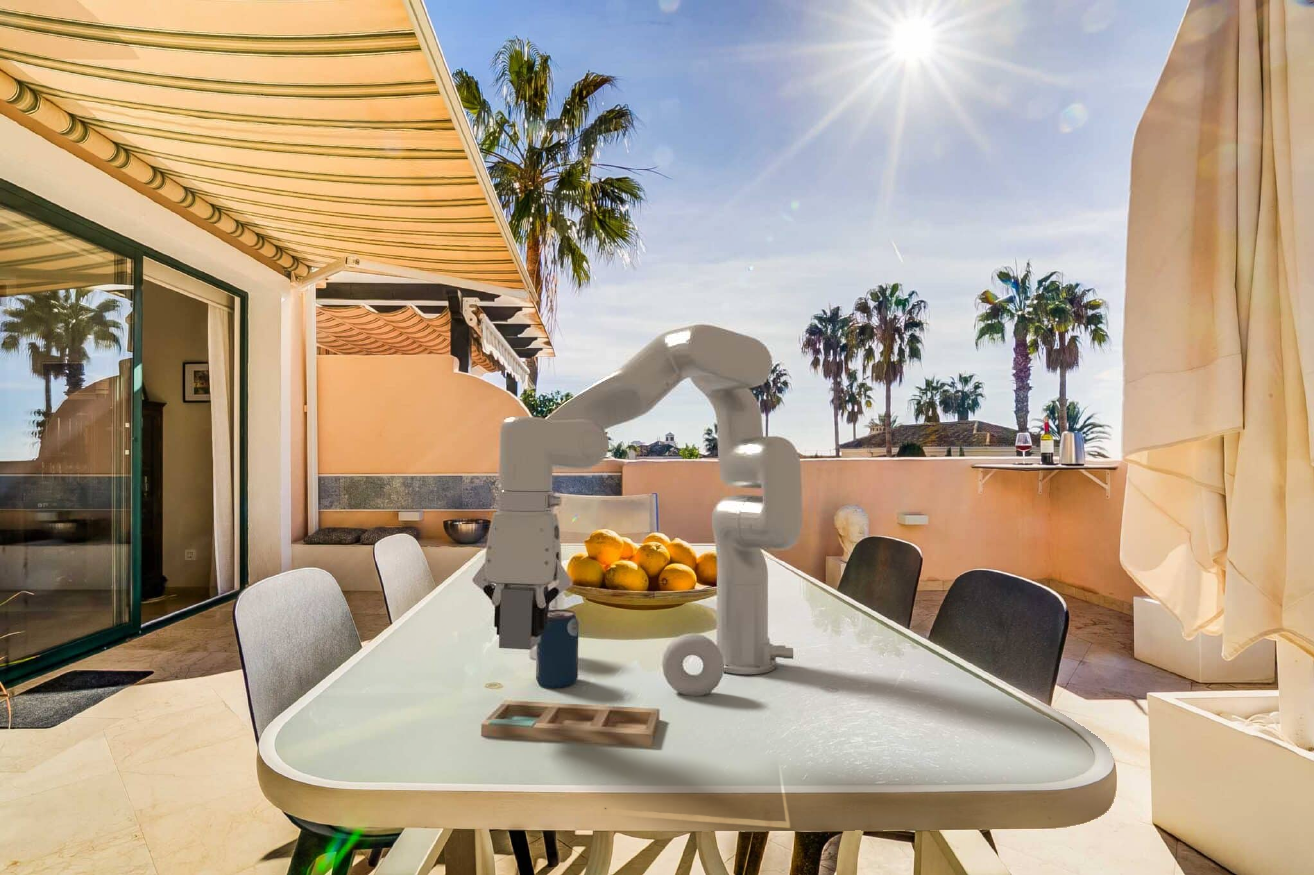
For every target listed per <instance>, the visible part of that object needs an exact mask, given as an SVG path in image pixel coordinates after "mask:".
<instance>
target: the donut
mask: <svg viewBox="0 0 1314 875" xmlns="http://www.w3.org/2000/svg"><path fill="white" fill-rule="evenodd" d="M662 656H663V657H662V662H661V665H662V671H663V676H664V677H665V680H666V682H667V684H668V685H669V686H670V687H671V688H672V689H673V690H674V691H675V692H677V693H679V694H680V695H683V696H689V697H702V696H705V695H707V694H710V693H712V692H713V691H714V689H716V688H717V687H718V686H719V684H720V682H721V680H722V678H723V675H724V672H723V670H724V662H723V656H722V654H721V652H720V650H719V648H718V647H717V644H716V643H715V641H713V640H712V639H710V638H709V637H707V636H705V635H703V634H700V633H695V632H694V633H685V634H682V635H680V636H678V637H676V638H674V639H673V640H672V641H671V642H670V643H669V644H668V645H667V647H666V649H665V651H664V652H663V655H662ZM689 656H696V657H697V658H699V659H700V660H701V661H702V665H703V666H702V670H701V671H700V672H699V673H697V674H690V673H689V672H687V671H686V670H685V668H684V665H683V664H684V661H685V659H686V657H689Z"/></svg>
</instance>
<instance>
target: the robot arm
mask: <svg viewBox="0 0 1314 875" xmlns="http://www.w3.org/2000/svg"><path fill="white" fill-rule="evenodd" d="M772 369H773V359H772V356H771V353H770V351H769V349H768V347H767V346H766V345H765V344H764V343H763V342H761V341H760V340H758V339H757V338H755V337H752V336H749V335H744V334H742V333H739V332H735V331H732V330H729V329H726V328H724V327H723V328H722V327H719V326H715V325H710V324H694V325H690V326H686V327H683V328H682V327H681V328H677V329H673V330H669V331H667V332H663V333H662V334H660V335H658V336H656V337H655V338H654V339H653V340H651V342H649V343H648V344H647V345H646V346H645V347H643V348H642V349H641V350H640V351H638V352H637V353H636V354H635V355H633V357H631V358H630V359H629V360H628V361H627V362H625V363H624V364H623V365H622V366H620V367H619V368H618V369H617V370H615V371H614V372H612V373H611V374H609V375H608V376H606V377H604V378H602V379H600V380H598V381H597V382H596V383H594V384H593V385H592V386H590V387H588V388H586V389H585V390H583V391H581V392H580V393H578V394H576V395H575V396H573V397H572V398H570V399H569V400H567V401H565V402H564V403H562V404H561V405H560V406H559V407H558V408H556V409H555V410H553V412H551V413H550V414H549V415H547V417H545V418H544V417H537V416H513V417H508V418H505V419H504V420H503V421H502V423H501V425H500V432H499V433H500V436H499V464H498V488H497V489H498V492H497V511H496V512H493V514H492V518H491V522H490V525H489V531H488V535H487V542H486V549H485V558H484V559H485V560H484V563H483V564H482V565H481V567H480V568H479V569H478V571H477V572H476V573H475V575H474V576H473V577H472V582H473V584H474V585H476V587H478V588H479V589H480V590H482V591H483V593H484V594H485V595H486V596H487V597H488V599H489V600H490V601H491V604H492V606H494V616H493V618H494V619H493V626H494V628H496V635H497V636H499V630H500V602H501V589H502V588H505V587H507V586H509V585H526V586H534V589H535V595H536V600H537V603H536V608H534V613H533V636H534V637H539V636H540V635H541V634H543V633H544V630H546V629H547V623H548V604H550V603H551V601H553V600H554V599H555V598H556V597H557V596H558V595H559V594H560V593H561V592H563V591H564V592H565V591H566V590H567V589H568V588H570V587H571V586H572V585H573V584H574V583H573V579H571V576H570V575H569V573H568V572H567V570H566V569H565V568H564V566H563V565H562V547H561V546H562V544H561V533H560V532H561V530H560V523H559V518H558V517H559V516H558V513H552V510H554V508H556V507H560V506H561V505H562V497H561V496H556V495H555V494H554V491H553V472H554V471H553V470H570V471H571V470H575V471H577V470H578V471H579V470H580V471H581V470H588V469H591V468H594V467H596V466H597V465H599V464H600V463H602V461H603V460H604V459H605V458H606V456H607V455H608V451H609V444H610V443H609V437H608V435H607V433H606V431H605V430H606V429H609V428H612V427H615V426H618V425H621V424H623V423H627V422H630V421H632V420H635V419H637V418H639V417H641V416H644V415H645V414H647V413H648V412H650V411H652V409H653V408H654V407H656V405H658V403H659V402H660V401H661V400H663V399H664V398H665V397H666V396H667V395H668V394H669V393H670V392H671V391H673V389H675V388H676V387H677V386H678V385H679V384H681V382H682V381H684V380H686V379H690V380H691V381H692V383H693V385H694V386H695V387H696V388H697V389H698V390H699V391H700V392H701V393H703V395H704V396H705V397H706V398H707V399H708V401H709V402H710V404H711V405H712V407H713V410H714V413H715V416H716V417H715V418H716V427H717V428H716V429H717V431H716V432H717V455H718V456H717V461H718V462H717V463H718V473H719V477H720V479H721V481H722V482H723V483H724V484H726V485H727V486H730V487H732V488H743V489H761V492H762V493H761V494H762V496H761V495H757V494H755V495H753V494H750V495H749V494H731V495H728V496H726V497H723V498H722V499H721V500H718V502H717V503H716V505H715V506H714V508H713V511H712V513H711V527H712V528H711V529H712V535H713V539H714V543H715V552H716V554H715V555H716V646H717V647H718V648H719V650H720V652H721V654H722V656H723V662H724V670H723V673H727V674H732V675H733V674H734V675H760V674H766V673H770V672H772V671H774V670H775V669H776V668H777V658H781V659H782V658H783V659H789V660H790V659H794V648H793V647H786V645H783V644H781V645H776V644H775V645H774V644H773V643H771V641H770V637H769V618H768V617H769V570H768V565H767V562H766V561H767V560H766V558H765V557H764V556H765V555H764V554H763V551H762V549H765V550H772V551H786V550H789V549H791V548H793V547H794V546H796V544H797V543H798V541H799V539H800V537H801V534H802V529H803V528H802V527H803V493H802V492H803V491H802V490H803V489H802V486H803V485H802V465H801V464H802V463H801V459H800V456H799V453H798V451H797V449H796V447H795V445H794V444H793V443H792V442H791V441H790V440H788V439H786V438H784V437H783V436H777V435H776V436H774V435H772V436H771V435H770V436H764V432H763V431H764V430H763V419H762V417H763V416H762V410H761V406H760V404H759V401H758V400H757V398H756V396H755V395H754V394H753V392H752V391H751V390H750V389H751V388H755V387H758V386H761V385H763V384H764V383H765V382H766V381H767V380H768V378H770V375H771V373H772ZM556 580H559V583H558V584H557V585H556V586H555V587H553V588H552V589H550V590H549V586H548V584H550V583H552V581H556Z"/></svg>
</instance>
